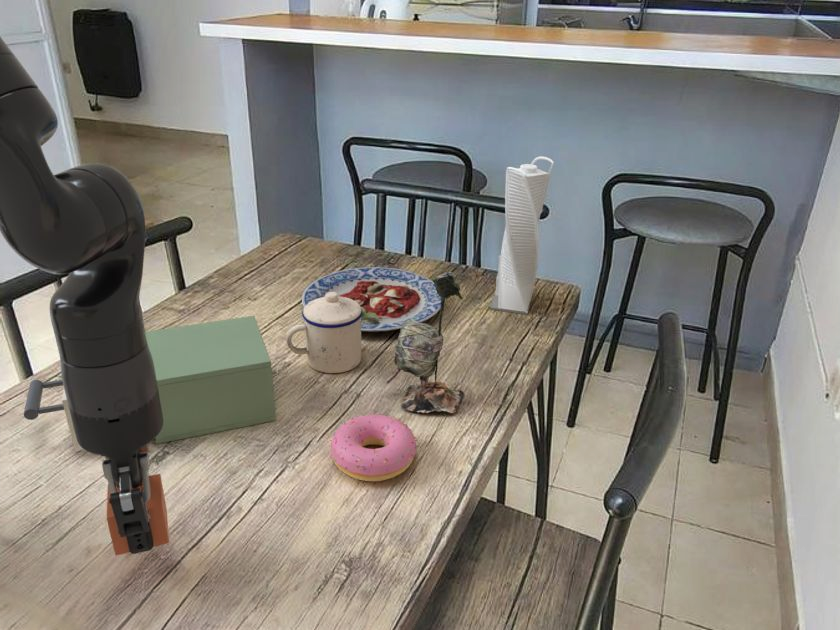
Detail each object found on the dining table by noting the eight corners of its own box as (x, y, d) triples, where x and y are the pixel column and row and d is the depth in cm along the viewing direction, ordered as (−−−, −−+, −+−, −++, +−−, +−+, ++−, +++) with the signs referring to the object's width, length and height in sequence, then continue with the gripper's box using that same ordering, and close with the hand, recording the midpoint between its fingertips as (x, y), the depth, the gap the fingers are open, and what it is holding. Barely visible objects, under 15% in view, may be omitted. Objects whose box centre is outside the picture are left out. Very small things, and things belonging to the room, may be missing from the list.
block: (115, 556, 67) (106, 518, 64) (115, 520, 71) (107, 483, 68) (169, 543, 68) (162, 506, 66) (166, 509, 72) (160, 473, 70)
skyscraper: (539, 299, 129) (556, 152, 116) (534, 318, 122) (552, 164, 109) (495, 293, 131) (507, 148, 118) (488, 312, 124) (500, 160, 111)
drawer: (30, 460, 84) (14, 408, 80) (40, 405, 94) (26, 356, 91) (195, 428, 90) (187, 378, 87) (187, 379, 101) (180, 333, 97)
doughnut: (326, 437, 91) (325, 412, 89) (406, 428, 93) (407, 402, 91) (336, 493, 81) (334, 466, 79) (425, 481, 84) (426, 454, 82)
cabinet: (156, 444, 89) (144, 382, 84) (152, 389, 100) (141, 331, 95) (276, 420, 94) (270, 361, 89) (259, 370, 105) (254, 315, 101)
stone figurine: (403, 376, 104) (404, 256, 95) (471, 396, 100) (480, 272, 91) (377, 403, 98) (376, 277, 89) (449, 426, 94) (455, 295, 84)
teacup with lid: (351, 341, 114) (349, 277, 108) (371, 367, 106) (370, 301, 101) (280, 355, 109) (275, 289, 104) (296, 384, 102) (291, 315, 96)
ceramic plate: (347, 267, 140) (347, 254, 139) (464, 293, 131) (465, 279, 130) (273, 320, 119) (272, 305, 118) (405, 355, 110) (406, 339, 109)
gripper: (72, 357, 66) (103, 491, 74) (60, 446, 54) (99, 594, 62) (154, 345, 69) (176, 476, 76) (160, 428, 57) (185, 573, 65)
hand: (141, 529), depth 69 cm, fingers closed on block, 5 cm apart
